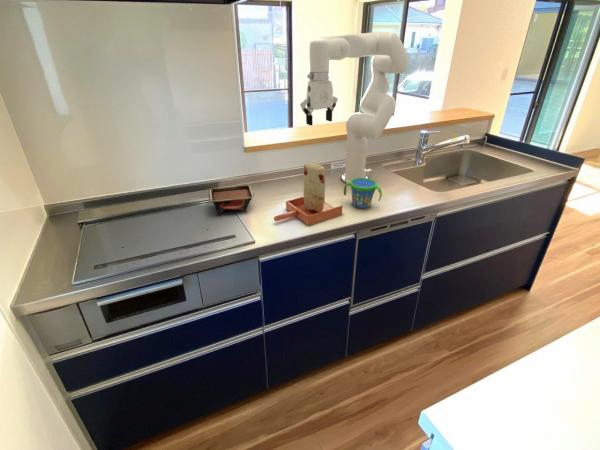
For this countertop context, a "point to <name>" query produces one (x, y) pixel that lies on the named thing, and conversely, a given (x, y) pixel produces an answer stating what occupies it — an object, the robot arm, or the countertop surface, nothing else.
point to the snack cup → (362, 191)
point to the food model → (314, 187)
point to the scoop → (308, 212)
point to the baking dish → (231, 197)
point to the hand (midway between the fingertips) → (319, 122)
